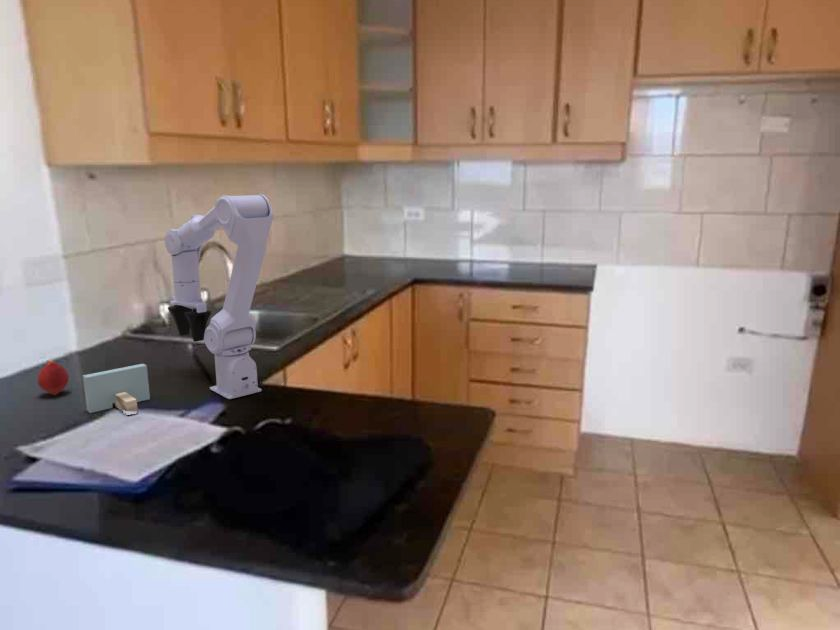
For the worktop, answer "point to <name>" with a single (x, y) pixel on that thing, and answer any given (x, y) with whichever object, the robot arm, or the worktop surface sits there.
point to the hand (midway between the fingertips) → (191, 337)
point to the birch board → (125, 402)
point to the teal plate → (115, 386)
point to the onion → (53, 378)
